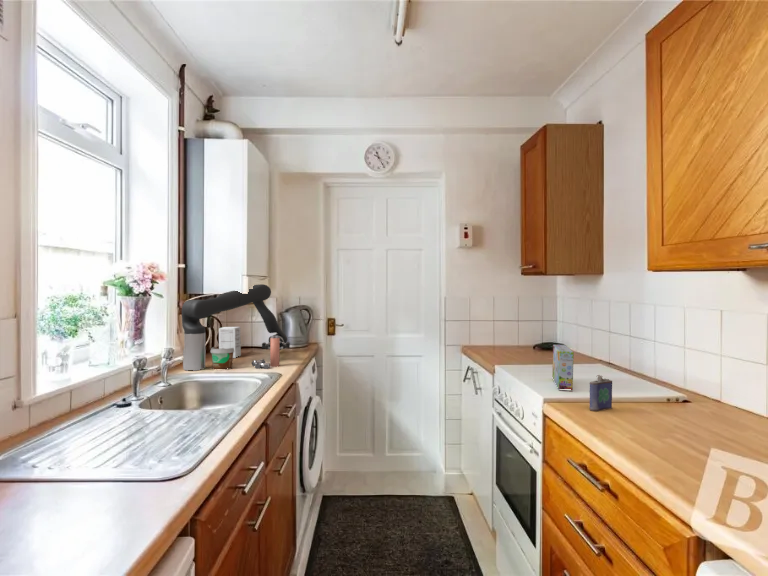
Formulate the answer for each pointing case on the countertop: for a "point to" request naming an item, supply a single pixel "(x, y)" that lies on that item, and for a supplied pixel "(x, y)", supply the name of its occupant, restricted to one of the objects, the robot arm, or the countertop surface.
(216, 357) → the food container
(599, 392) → the flask
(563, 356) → the snack box
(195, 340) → the robot arm
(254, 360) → the shaft
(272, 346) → the pink capped rod
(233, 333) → the supplement box
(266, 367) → the shaft
